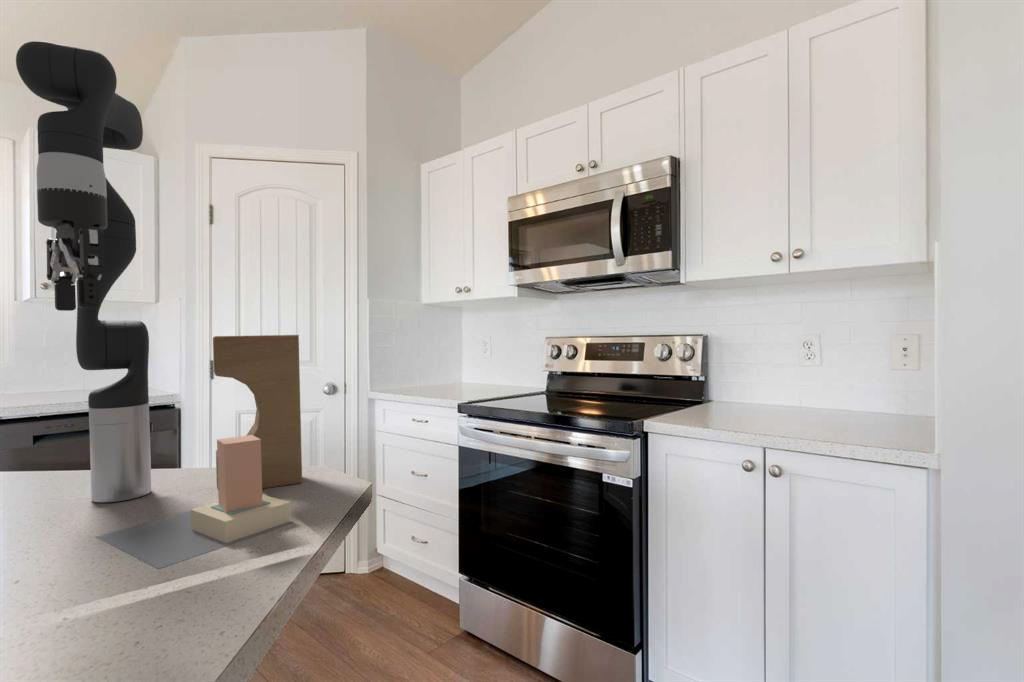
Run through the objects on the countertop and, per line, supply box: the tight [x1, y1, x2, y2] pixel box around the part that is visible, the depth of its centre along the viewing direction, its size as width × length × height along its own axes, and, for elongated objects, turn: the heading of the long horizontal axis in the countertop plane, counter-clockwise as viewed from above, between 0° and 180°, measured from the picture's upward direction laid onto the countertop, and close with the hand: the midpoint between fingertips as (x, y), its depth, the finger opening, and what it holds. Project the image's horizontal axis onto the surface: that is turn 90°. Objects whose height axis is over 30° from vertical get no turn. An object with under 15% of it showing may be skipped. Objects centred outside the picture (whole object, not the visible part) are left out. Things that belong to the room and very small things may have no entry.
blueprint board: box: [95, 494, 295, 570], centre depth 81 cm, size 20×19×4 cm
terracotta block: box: [216, 434, 263, 512], centre depth 82 cm, size 5×5×10 cm
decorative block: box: [212, 334, 303, 490], centre depth 107 cm, size 15×8×30 cm, turn 120°
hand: (76, 309), depth 75 cm, fingers open, 8 cm apart
